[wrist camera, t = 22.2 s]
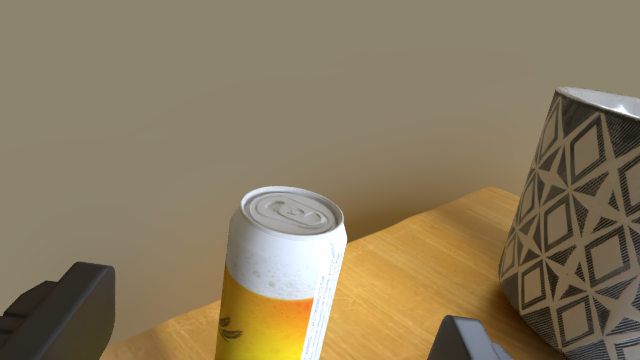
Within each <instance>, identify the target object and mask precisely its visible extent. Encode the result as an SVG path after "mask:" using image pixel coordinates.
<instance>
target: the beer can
mask: <svg viewBox="0 0 640 360" xmlns="http://www.w3.org/2000/svg"><path fill="white" fill-rule="evenodd" d="M343 220H344V217H343V213H342V211H341V210H340V208H339V207H338V206H337V205H336V204H335V203H333V202H332V201H331V200H329V199H327V198H326V197H324V196H322V195H319V194H317V193H314V192H311V191H308V190H304V189H300V188H294V187H284V186H272V187H263V188H259V189H255V190H253V191H250V192H249V193H247V194H246V195H245V196H244V197H243V198H242V199H241V202H240V206H239V207H238V209H237V210H236V211H235V213H234V214H233V216H232V218H231V220H230V226H229V235H228V244H227V253H226V263H225V271H224V281H223V290H222V299H221V308H220V317H219V326H218V335H217V344H216V353H215V360H319V356H320V352H321V348H322V344H323V340H324V335H325V331H326V327H327V323H328V318H329V314H330V310H331V306H332V302H333V297H334V293H335V289H336V285H337V281H338V276H339V272H340V268H341V264H342V259H343V255H344V251H345V247H346V243H347V235H346V231H345V228H344V224H343Z"/></svg>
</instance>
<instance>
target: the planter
mask: <svg viewBox="0 0 640 360" xmlns="http://www.w3.org/2000/svg"><path fill="white" fill-rule="evenodd" d="M498 272H499V280H500V284H501V287H502V289H503V291H504V294H505V295H506V297H507V299H508V301H509V302H510V304H511V305H512V307H513V308H514V309H515V311H516V312H517V313H518V315H519V316H520V317H521V318H522V319H523V320H524V321H525V322H526V323H527V325H528V326H529V327H530V328H531V329H532V330H533V331H535V332H536V333H537V334H538V335H539V336H540V337H541V338H542V339H543V340H544V341H546V342H547V343H548V344H549V345H550V346H552V347H553V348H554V349H555V350H557V351H558V352H559V353H561V354H562V355H563V356H565V357H566V358H567V359H569V360H640V98H634V97H630V96H624V95H619V94H614V93H608V92H602V91H597V90H590V89H583V88H575V87H558V88H556V90H555V93H554V97H553V100H552V102H551V106H550V109H549V112H548V115H547V118H546V121H545V124H544V127H543V130H542V133H541V137H540V140H539V143H538V146H537V149H536V152H535V155H534V158H533V161H532V164H531V167H530V171H529V174H528V177H527V180H526V183H525V186H524V189H523V192H522V195H521V198H520V201H519V205H518V208H517V211H516V214H515V217H514V220H513V223H512V226H511V229H510V232H509V236H508V239H507V242H506V245H505V248H504V251H503V254H502V257H501V260H500V264H499V271H498Z"/></svg>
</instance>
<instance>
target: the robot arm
mask: <svg viewBox="0 0 640 360" xmlns="http://www.w3.org/2000/svg"><path fill="white" fill-rule="evenodd" d="M114 322H115V270H114V268H113V267H112V266H107V265H100V264H93V263H86V262H76V263H75V264H74V265H73V266H72V267H71V268H70V269H69V270H68V271H67V272H66V273H65V275H64V276H63V277H62V278H61V279H60V280H59V281H58V282H54V281H44V282H43V283H41V284H39V285H37V286H36V287H34V288H32V289H30V290H28V291H27V292H25V293H23V294H21V295H20V296H19V297H18V298H17V299H16V300H15V301H14V303H12V305H10V307H9V308H8V309H7V310H6V311H5V312H4V314H3V316H0V360H99V358H100V357H101V355H102V353H103V351H104V350H105V348H106V346H107V344H108V342H109V340H110V337H111V335H112V331H113V327H114ZM427 360H514V359H513V358H512V357H511V356H510V355H509V354H508V353H507V352H506V351H505V350H504V349H503V348H502V347H501V346H500V345H499V344H497V343H492V342H491V340H490V338H489V337H488V335H487V333H486V331H485V329H484V327H483V325H482V324H481V322H480V321H479V320H477V319H473V318H465V317H458V316H451V315H447V316H445V317H444V319H443V320H442V323H441V325H440V328H439V330H438V333H437V335H436V338H435V341H434V343H433V346H432V348H431V351H430V353H429V356H428V359H427Z"/></svg>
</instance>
